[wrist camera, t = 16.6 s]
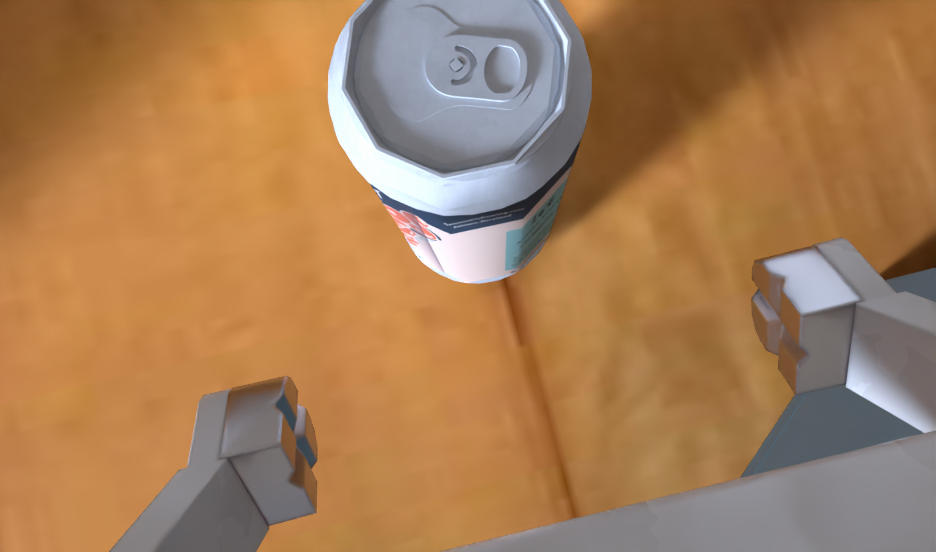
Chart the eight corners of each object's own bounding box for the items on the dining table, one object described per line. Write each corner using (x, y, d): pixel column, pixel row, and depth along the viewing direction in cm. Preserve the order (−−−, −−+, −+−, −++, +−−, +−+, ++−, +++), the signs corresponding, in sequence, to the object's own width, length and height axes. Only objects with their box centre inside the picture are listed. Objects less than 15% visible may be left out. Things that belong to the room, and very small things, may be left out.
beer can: (410, 128, 26) (335, -81, 14) (560, 143, 26) (610, -59, 14) (392, 277, 26) (298, 188, 14) (545, 293, 25) (584, 217, 13)
